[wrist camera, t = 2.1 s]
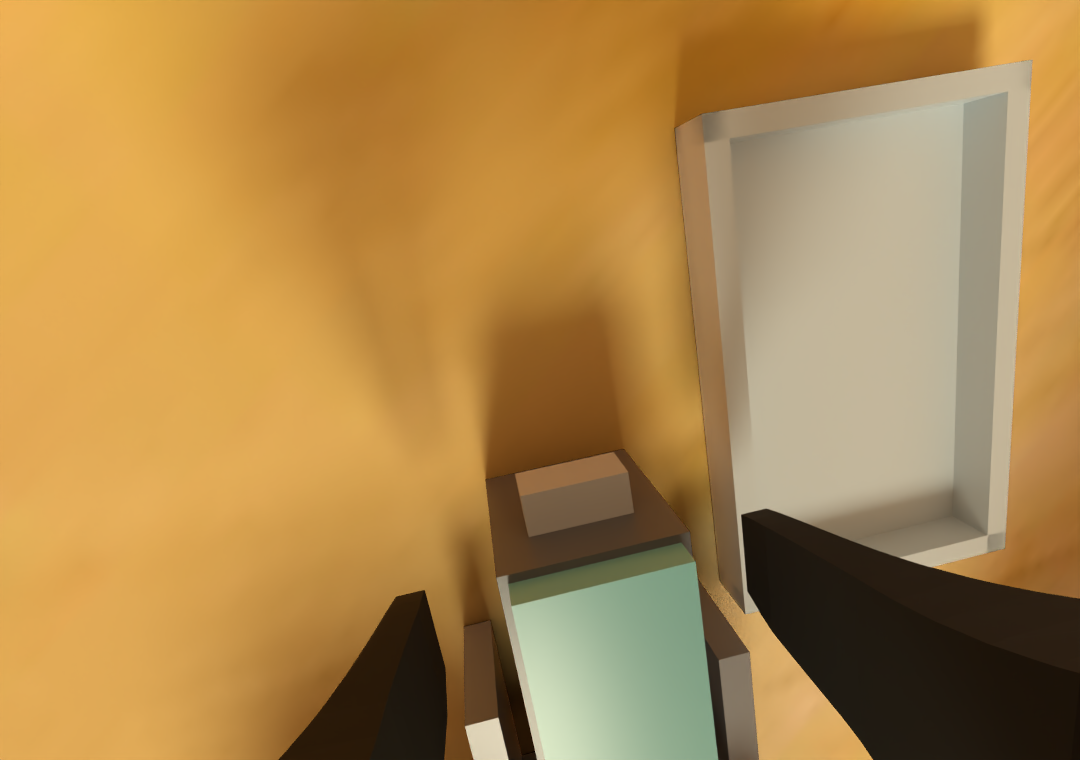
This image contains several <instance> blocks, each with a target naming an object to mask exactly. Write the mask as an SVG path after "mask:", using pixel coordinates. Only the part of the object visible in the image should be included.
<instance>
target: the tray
mask: <svg viewBox="0 0 1080 760" xmlns="http://www.w3.org/2000/svg"><path fill="white" fill-rule="evenodd" d="M1031 76H1032V60H1028V61H1021V62H1015V63H1009V64H1003V65H997V66H991V67H985V68H979V69H973V70H967V71H961V72H954V73H948V74H942V75H936V76H930V77H924V78H918V79H912V80H906V81H900V82H894V83H887V84H881V85H875V86H869V87H863V88H857V89H851V90H845V91H839V92H833V93H827V94H821V95H814V96H808V97H802V98H796V99H790V100H784V101H778V102H772V103H766V104H760V105H754V106H747V107H741V108H735V109H729V110H723V111H717V112H711V113H705V114H701V115H699V116H697V117H695V118H693V119H691V120H689V121H688V122H686V123H684V124H682V125H680V126H678V127H676V128H675V137H676V147H677V157H678V167H679V177H680V187H681V197H682V207H683V217H684V227H685V237H686V247H687V257H688V267H689V277H690V287H691V297H692V307H693V317H694V327H695V337H696V347H697V357H698V367H699V377H700V387H701V397H702V407H703V417H704V427H705V437H706V447H707V457H708V467H709V477H710V487H711V497H712V507H713V517H714V527H715V537H716V547H717V557H718V567H719V577H720V582H721V583H722V585H723V586H724V587H725V589H726V590H727V591H728V592H729V594H730V595H731V596H732V598H733V599H734V600H735V602H736V603H737V604H738V605H739V607H740V608H741V609H742V611H743V612H744V613H745V614H749V613H753V612H757V611H759V610H758V608H757V607H756V605H755V603H754V602H753V600H752V598H751V597H750V595H749V593H748V592H747V581H746V569H745V557H744V545H743V533H742V521H741V514H745V513H749V512H754V511H758V510H762V509H770V510H773V511H776V512H779V513H781V514H784V515H787V516H789V517H792V518H795V519H797V520H800V521H802V522H805V523H807V524H810V525H812V526H815V527H817V528H820V529H822V530H825V531H828V532H830V533H833V534H835V535H838V536H840V537H843V538H846V539H848V540H851V541H853V542H856V543H859V544H861V545H864V546H867V547H870V548H873V549H875V550H878V551H881V552H884V553H887V554H890V555H893V556H896V557H899V558H902V559H905V560H908V561H911V562H914V563H918V564H921V565H924V566H928V567H934V566H938V565H942V564H946V563H950V562H954V561H958V560H962V559H966V558H970V557H974V556H978V555H982V554H985V553H989V552H993V551H997V550H1001V549H1005V539H1006V521H1007V503H1008V485H1009V468H1010V450H1011V432H1012V414H1013V396H1014V379H1015V361H1016V343H1017V325H1018V307H1019V290H1020V272H1021V254H1022V236H1023V218H1024V201H1025V183H1026V165H1027V147H1028V129H1029V112H1030V94H1031Z"/></svg>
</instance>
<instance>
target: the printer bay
mask: <svg viewBox="0 0 1080 760" xmlns="http://www.w3.org/2000/svg"><path fill="white" fill-rule="evenodd" d="M698 587H699V596H700V605H701V613H702V622H703V631H704V640H705V649H706V657H707V666H708V675H709V684H710V693H711V701H712V710H713V719H714V728H715V737H716V745H717V754H718V760H759V755H758V744H757V732H756V721H755V710H754V698H753V687H752V675H751V664H750V652H749V651H748V649H747V648H746V646H745V645H744V644H743V642H742V641H741V639H740V638H739V637H738V635H737V634H736V632H735V631H734V630H733V628H732V627H731V625H730V624H729V622H728V621H727V620H726V618H725V617H724V615H723V614H722V613H721V611H720V610H719V608H718V607H717V606H716V604H715V603H714V601H713V600H712V598H711V597H710V596H709V594H708V593H707V591H706V590H705V589H704V587H703V586H702V584H701V583H700V582H699V580H698ZM464 692H465V729H466V733H467V737H468V740H469V744H470V748H471V752H472V756H473V759H474V760H537V757H536V753H535V752H534V753H530V754H526V755H523V756H522V754H521V750H520V746H519V742H518V737H517V733H516V729H515V724H514V720H513V716H512V711H511V707H510V703H509V698H508V694H507V690H506V685H505V681H504V677H503V672H502V668H501V664H500V659H499V655H498V651H497V646H496V642H495V638H494V634H493V629H492V625H491V621H485V622H481V623H477V624H473V625H469V626H465V627H464Z"/></svg>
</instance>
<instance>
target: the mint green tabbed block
mask: <svg viewBox="0 0 1080 760" xmlns="http://www.w3.org/2000/svg"><path fill="white" fill-rule="evenodd" d="M486 489H487V498H488V507H489V516H490V525H491V534H492V543H493V552H494V562H495V571H496V579H497V583H498V588H499V592H500V597H501V601H502V606H503V610H504V614H505V619H506V623H507V628H508V632H509V637H510V641H511V646H512V650H513V655H514V659H515V663H516V668H517V672H518V677H519V681H520V686H521V690H522V695H523V699H524V704H525V708H526V713H527V717H528V721H529V726H530V730H531V735H532V739H533V744H534V748H535V753H536V757H537V760H718V754H717V745H716V737H715V728H714V719H713V710H712V701H711V693H710V684H709V675H708V666H707V657H706V649H705V640H704V631H703V622H702V613H701V605H700V596H699V587H698V578H697V570H696V561H695V560H694V559H693V555H692V546H691V538H690V531H689V530H688V529H687V527H686V526H685V525H684V524H683V522H682V521H681V520H680V519H679V517H678V516H677V515H676V514H675V512H674V511H673V510H672V509H671V507H670V506H669V505H668V504H667V502H666V501H665V500H664V499H663V497H662V496H661V495H660V494H659V492H658V491H657V490H656V489H655V487H654V486H653V485H652V484H651V482H650V481H649V480H648V479H647V477H646V476H645V475H644V474H643V472H642V471H641V470H640V469H639V467H638V466H637V465H636V464H635V462H634V461H633V460H632V459H631V457H630V456H629V455H628V454H627V452H626V451H625V450H624V449H621V450H617V451H612V452H608V453H603V454H599V455H594V456H590V457H585V458H581V459H576V460H572V461H567V462H563V463H558V464H554V465H549V466H544V467H540V468H535V469H531V470H526V471H522V472H517V473H513V474H508V475H504V476H499V477H495V478H490V479H486Z"/></svg>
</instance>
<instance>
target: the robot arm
mask: <svg viewBox="0 0 1080 760" xmlns="http://www.w3.org/2000/svg"><path fill="white" fill-rule="evenodd" d="M741 521H742V533H743V545H744V557H745V569H746V581H747V592H748V593H749V595H750V597H751V598H752V600H753V602H754V603H755V605H756V607H757V608H758V610H759V612H760V613H761V615H762V616H763V618H764V619H765V621H766V623H767V624H768V626H769V627H770V629H771V630H772V632H773V633H774V634H775V635H776V637H777V638H778V639H779V641H780V642H781V643H782V644H783V646H784V647H785V648H786V649H787V650H788V652H789V653H790V654H791V655H792V657H793V658H794V659H795V660H796V662H797V663H798V664H799V665H800V666H801V668H802V669H803V670H804V671H805V673H806V674H807V675H808V676H809V677H810V679H811V680H812V681H813V682H814V683H815V685H816V686H817V687H818V688H819V690H820V691H821V692H822V693H823V694H824V696H825V697H826V698H827V699H828V700H829V702H830V703H831V704H832V705H833V707H834V708H835V709H836V710H837V711H838V713H839V714H840V715H841V716H842V717H843V719H844V720H845V721H846V723H847V724H848V725H849V727H850V728H851V729H852V730H853V732H854V733H855V734H856V736H857V737H858V738H859V740H860V741H861V742H862V744H863V745H864V747H865V748H866V750H867V751H868V753H869V754H870V756H871V757H872V759H873V760H1080V599H1078V598H1070V597H1064V596H1058V595H1052V594H1046V593H1040V592H1035V591H1030V590H1025V589H1020V588H1015V587H1010V586H1005V585H1000V584H995V583H990V582H986V581H982V580H977V579H973V578H969V577H965V576H961V575H957V574H954V573H950V572H946V571H942V570H939V569H935V568H931V567H928V566H924V565H921V564H918V563H914V562H911V561H908V560H905V559H902V558H899V557H896V556H893V555H890V554H887V553H884V552H881V551H878V550H875V549H873V548H870V547H867V546H864V545H861V544H859V543H856V542H853V541H851V540H848V539H846V538H843V537H840V536H838V535H835V534H833V533H830V532H828V531H825V530H822V529H820V528H817V527H815V526H812V525H810V524H807V523H805V522H802V521H800V520H797V519H795V518H792V517H789V516H787V515H784V514H781V513H779V512H776V511H773V510H770V509H762V510H758V511H754V512H749V513H745V514H741ZM446 726H447V694H446V672H445V665H444V661H443V657H442V654H441V650H440V646H439V642H438V638H437V635H436V631H435V627H434V623H433V620H432V616H431V612H430V608H429V605H428V601H427V597H426V593H425V590H422V591H418V592H414V593H410V594H406V595H401V596H397V597H396V598H395V599H394V601H393V602H392V604H391V605H390V607H389V609H388V610H387V612H386V613H385V615H384V617H383V618H382V620H381V622H380V623H379V625H378V627H377V628H376V630H375V631H374V633H373V635H372V636H371V638H370V640H369V641H368V643H367V644H366V646H365V647H364V649H363V650H362V652H361V653H360V655H359V657H358V658H357V660H356V661H355V663H354V664H353V666H352V667H351V669H350V670H349V672H348V673H347V675H346V676H345V678H344V679H343V680H342V682H341V683H340V684H339V686H338V687H337V689H336V690H335V691H334V693H333V694H332V695H331V697H330V698H329V700H328V701H327V702H326V704H325V705H324V706H323V708H322V709H321V710H320V712H319V713H318V714H317V716H316V717H315V718H314V719H313V720H312V722H311V723H310V724H309V725H308V727H307V728H306V729H305V730H304V731H303V732H302V734H301V735H300V736H299V737H298V738H297V739H296V741H295V742H294V743H293V744H292V745H291V746H290V747H289V749H288V750H287V751H286V752H285V753H284V754H283V755H282V756H281V758H280V759H279V760H444V754H445V740H446Z"/></svg>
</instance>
